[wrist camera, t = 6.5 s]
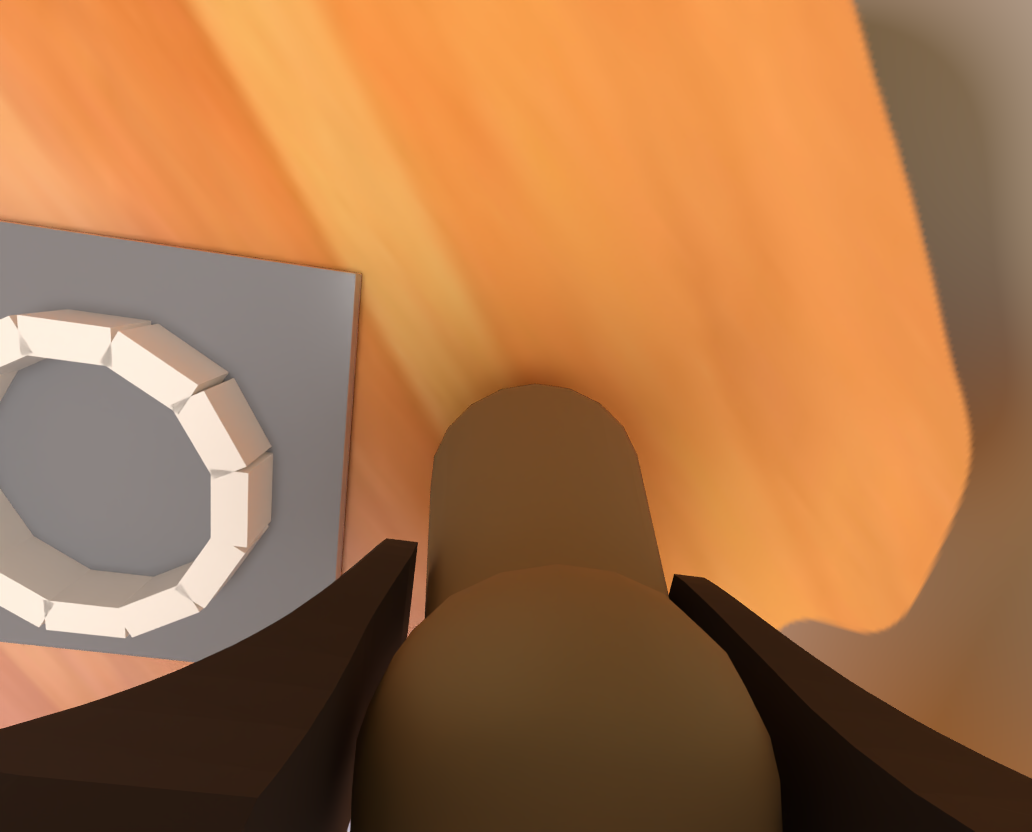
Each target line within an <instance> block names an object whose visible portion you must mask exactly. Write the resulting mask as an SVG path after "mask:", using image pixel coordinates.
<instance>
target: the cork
mask: <svg viewBox="0 0 1032 832" xmlns="http://www.w3.org/2000/svg"><path fill="white" fill-rule="evenodd" d="M350 832H783V829H782V808H781V788H780V778H779V774H778V769H777V765H776V760H775V756H774V752H773V747H772V743H771V738H770V735H769V733H768V731H767V729H766V727H765V725H764V723H763V721H762V719H761V717H760V715H759V713H758V711H757V709H756V707H755V705H754V703H753V701H752V699H751V697H750V695H749V693H748V691H747V689H746V687H745V685H744V683H743V681H742V680H741V678H740V676H739V674H738V672H737V671H736V669H735V667H734V665H733V664H732V662H731V660H730V658H729V656H728V655H727V653H726V652H725V651H724V650H723V649H722V648H721V647H720V646H719V645H718V644H717V643H716V642H715V641H714V640H713V639H712V638H711V637H710V636H709V635H708V634H707V633H705V632H704V631H703V630H702V629H701V628H700V627H699V626H698V625H697V624H696V623H695V622H694V621H693V620H692V619H690V618H689V617H688V616H687V615H686V614H685V613H684V612H683V611H682V610H681V609H680V608H679V607H677V606H676V605H675V604H674V603H673V602H672V601H671V600H670V599H669V595H668V591H667V586H666V582H665V577H664V573H663V568H662V564H661V560H660V555H659V551H658V546H657V542H656V537H655V533H654V528H653V524H652V519H651V515H650V511H649V506H648V502H647V497H646V493H645V488H644V484H643V479H642V475H641V471H640V466H639V462H638V457H637V454H636V452H635V450H634V448H633V446H632V444H631V442H630V440H629V438H628V435H627V433H626V431H625V429H624V427H623V426H622V425H621V424H620V423H619V422H618V421H617V420H616V419H615V418H614V417H613V416H612V415H611V414H610V413H609V412H608V411H607V410H606V409H605V408H604V407H603V406H602V405H601V404H600V403H598V402H596V401H594V400H592V399H590V398H588V397H586V396H584V395H582V394H579V393H577V392H575V391H573V390H571V389H568V388H562V387H555V386H548V385H541V384H531V385H525V386H519V387H513V388H506V389H501V390H499V391H497V392H495V393H493V394H491V395H489V396H487V397H485V398H483V399H482V400H480V401H478V402H476V403H474V404H472V405H470V406H469V407H468V408H467V410H466V411H465V412H464V413H463V414H462V415H461V416H460V417H459V418H458V419H457V420H456V421H455V422H454V423H453V424H452V425H451V426H450V427H449V428H448V429H447V431H446V433H445V435H444V437H443V440H442V442H441V444H440V446H439V448H438V450H437V452H436V454H435V456H434V463H433V471H432V480H431V491H430V513H429V535H428V558H427V580H426V602H425V619H424V620H423V621H422V622H421V623H420V624H419V625H418V626H417V627H416V628H415V629H414V630H413V631H412V632H411V633H410V635H409V636H408V637H407V639H406V640H405V641H404V643H403V644H402V645H401V647H400V648H399V649H398V651H397V652H396V653H395V655H394V656H393V658H392V660H391V662H390V664H389V666H388V668H387V670H386V672H385V674H384V676H383V677H382V679H381V681H380V683H379V685H378V687H377V689H376V691H375V693H374V695H373V697H372V699H371V701H370V703H369V705H368V708H367V711H366V714H365V717H364V720H363V723H362V725H361V728H360V731H359V734H358V737H357V740H356V749H355V761H354V772H353V784H352V798H351V820H350Z"/></svg>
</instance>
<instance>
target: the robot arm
mask: <svg viewBox="0 0 1032 832" xmlns="http://www.w3.org/2000/svg"><path fill="white" fill-rule="evenodd" d="M417 546H418V542H410V541H402V540H394V539H385V540H384V541H382V542H381V543H380V544H379V545H377V546H376V547H375V548H374V549H373V550H372V551H370V552H369V553H368V554H367V555H366V556H365V557H363V558H362V559H361V560H360V561H359V562H358V563H356V564H355V565H354V566H353V567H352V568H350V569H349V570H348V571H347V572H345V573H344V574H343V575H342V576H340V577H339V578H338V579H337V580H335V581H334V582H333V583H331V584H330V585H329V586H328V587H326V588H325V589H324V590H322V591H321V592H320V593H318V594H317V595H315V596H314V597H312V598H311V599H310V600H308V601H307V602H305V603H304V604H302V605H301V606H300V607H298V608H297V609H295V610H294V611H292V612H291V613H289V614H288V615H286V616H285V617H283V618H281V619H280V620H278V621H276V622H275V623H273V624H271V625H269V626H268V627H266V628H264V629H262V630H260V631H259V632H257V633H255V634H253V635H251V636H249V637H248V638H246V639H244V640H242V641H240V642H238V643H236V644H234V645H232V646H230V647H228V648H225V649H223V650H221V651H219V652H217V653H215V654H212V655H210V656H208V657H206V658H204V659H202V660H199V661H197V662H195V663H193V664H191V665H189V666H186V667H184V668H182V669H180V670H177V671H175V672H172V673H170V674H167V675H165V676H162V677H160V678H157V679H155V680H152V681H149V682H147V683H144V684H142V685H139V686H136V687H133V688H131V689H128V690H125V691H122V692H119V693H117V694H114V695H111V696H108V697H105V698H102V699H99V700H96V701H93V702H90V703H87V704H84V705H81V706H78V707H74V708H71V709H67V710H64V711H61V712H57V713H54V714H50V715H47V716H44V717H40V718H37V719H33V720H30V721H27V722H23V723H20V724H16V725H13V726H10V727H6V728H2V729H0V832H350V820H351V798H352V784H353V772H354V761H355V749H356V740H357V737H358V734H359V731H360V728H361V725H362V723H363V720H364V717H365V714H366V711H367V708H368V705H369V703H370V701H371V699H372V697H373V695H374V693H375V691H376V689H377V687H378V685H379V683H380V681H381V679H382V677H383V676H384V674H385V672H386V670H387V668H388V666H389V664H390V662H391V660H392V658H393V656H394V655H395V653H396V652H397V651H398V649H399V648H400V647H401V645H402V644H403V643H404V641H405V640H406V638H407V633H408V625H409V616H410V607H411V598H412V590H413V581H414V572H415V563H416V554H417ZM669 599H670V600H671V601H672V602H673V603H674V604H675V605H676V606H677V607H679V608H680V609H681V610H682V611H683V612H684V613H685V614H686V615H687V616H688V617H689V618H690V619H692V620H693V621H694V622H695V623H696V624H697V625H698V626H699V627H700V628H701V629H702V630H703V631H704V632H705V633H707V634H708V635H709V636H710V637H711V638H712V639H713V640H714V641H715V642H716V643H717V644H718V645H719V646H720V647H721V648H722V649H723V650H724V651H725V652H726V653H727V655H728V656H729V658H730V660H731V662H732V664H733V665H734V667H735V669H736V671H737V672H738V674H739V676H740V678H741V680H742V681H743V683H744V685H745V687H746V689H747V691H748V693H749V695H750V697H751V699H752V701H753V703H754V705H755V707H756V709H757V711H758V713H759V715H760V717H761V719H762V721H763V723H764V725H765V727H766V729H767V731H768V733H769V735H770V738H771V743H772V747H773V752H774V756H775V760H776V765H777V769H778V774H779V778H780V788H781V808H782V829H783V832H1032V779H1031V778H1029V777H1027V776H1025V775H1022V774H1020V773H1018V772H1016V771H1014V770H1012V769H1010V768H1008V767H1006V766H1004V765H1002V764H999V763H997V762H995V761H993V760H991V759H989V758H987V757H985V756H983V755H981V754H979V753H977V752H975V751H973V750H971V749H969V748H967V747H965V746H963V745H961V744H960V743H958V742H956V741H954V740H951V739H950V738H948V737H946V736H944V735H942V734H940V733H938V732H936V731H934V730H933V729H931V728H929V727H927V726H925V725H924V724H922V723H920V722H918V721H916V720H914V719H913V718H911V717H909V716H907V715H906V714H904V713H902V712H901V711H899V710H897V709H896V708H894V707H892V706H890V705H889V704H887V703H885V702H884V701H882V700H880V699H879V698H877V697H875V696H874V695H872V694H870V693H868V692H867V691H865V690H864V689H862V688H860V687H859V686H857V685H856V684H854V683H853V682H851V681H849V680H848V679H846V678H845V677H843V676H842V675H840V674H839V673H837V672H836V671H834V670H833V669H832V668H830V667H829V666H827V665H825V664H824V663H823V662H821V661H820V660H818V659H816V658H815V657H814V656H812V655H811V654H809V653H808V652H807V651H805V650H804V649H802V648H801V647H799V646H798V645H797V644H795V643H794V642H792V641H791V640H790V639H789V638H787V637H786V636H784V635H783V634H782V633H780V632H779V631H778V630H776V629H775V628H774V627H772V626H771V625H770V624H768V623H767V622H766V621H764V620H763V619H762V618H760V617H759V616H758V615H756V614H755V613H754V612H752V611H751V610H750V609H748V608H747V607H746V606H744V605H743V604H742V603H740V602H739V601H738V600H736V599H735V598H734V597H732V596H731V595H729V594H728V593H727V592H725V591H724V590H722V589H721V588H720V587H718V586H717V585H715V584H714V583H712V582H710V581H709V580H707V579H705V578H702V577H694V576H686V575H678V574H674V577H673V581H672V585H671V589H670V592H669Z"/></svg>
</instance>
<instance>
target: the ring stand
mask: <svg viewBox="0 0 1032 832" xmlns="http://www.w3.org/2000/svg"><path fill="white" fill-rule="evenodd" d="M361 278H362V273H355V272H349V271H342V270H335V269H328V268H321V267H315V266H308V265H301V264H294V263H288V262H281V261H274V260H267V259H260V258H254V257H247V256H240V255H233V254H227V253H220V252H213V251H206V250H199V249H193V248H186V247H179V246H172V245H166V244H159V243H152V242H145V241H138V240H132V239H125V238H118V237H111V236H105V235H98V234H91V233H84V232H77V231H71V230H64V229H57V228H50V227H44V226H37V225H30V224H23V223H16V222H10V221H3V220H0V642H8V643H18V644H27V645H37V646H46V647H56V648H65V649H74V650H84V651H93V652H103V653H112V654H122V655H131V656H141V657H150V658H159V659H169V660H178V661H188V662H197V661H199V660H202V659H204V658H206V657H208V656H210V655H212V654H215V653H217V652H219V651H221V650H223V649H225V648H228V647H230V646H232V645H234V644H236V643H238V642H240V641H242V640H244V639H246V638H248V637H249V636H251V635H253V634H255V633H257V632H259V631H260V630H262V629H264V628H266V627H268V626H269V625H271V624H273V623H275V622H276V621H278V620H280V619H281V618H283V617H285V616H286V615H288V614H289V613H291V612H292V611H294V610H295V609H297V608H298V607H300V606H301V605H302V604H304V603H305V602H307V601H308V600H310V599H311V598H312V597H314V596H315V595H317V594H318V593H320V592H321V591H322V590H324V589H325V588H326V587H328V586H329V585H330V584H331V583H333V582H334V581H335V580H337V579H338V578H339V577H340V576H341V566H342V552H343V537H344V523H345V509H346V494H347V480H348V465H349V451H350V437H351V422H352V408H353V393H354V379H355V365H356V350H357V336H358V321H359V307H360V293H361Z"/></svg>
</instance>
